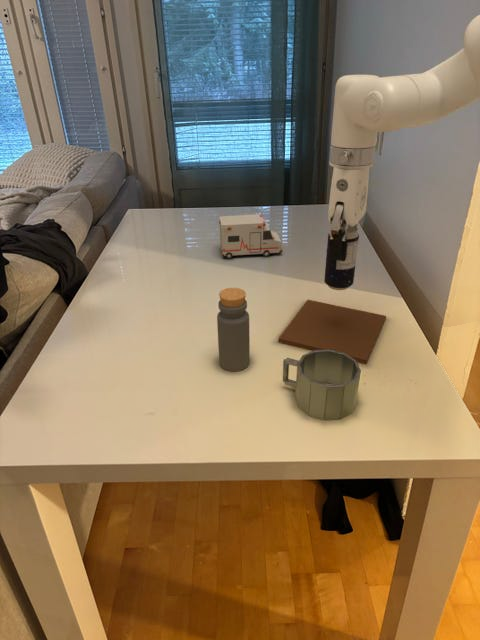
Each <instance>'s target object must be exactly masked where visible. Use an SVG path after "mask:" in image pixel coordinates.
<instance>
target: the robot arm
mask: <svg viewBox="0 0 480 640" xmlns="http://www.w3.org/2000/svg"><path fill="white" fill-rule="evenodd" d="M463 34H464V35H463V44H462V45H463V47H462V48H461V49H460V50H459V51H457V52H456V53H455V54H453V55H452V56H450V57H449V58H446V59H445V60H444V61H442V62H441V63H439V64H436V65H435V66H433V67H432V68H430V69H428V70H427V71H423V72H422V73H412V74H411V73H410V74H401V75H392V76H382V77H380V76H378V75H375V74H347V75H346V74H345V75H342V76H341V77H339V78H338V80H337V81H336V83H335V86H334V87H335V88H334V99H333V109H332V110H333V112H332V123H331V135H330V136H331V137H330V146H329V147H330V150H329V159H328V160H329V162H328V164H329V166H330V167H331V168H333V170H332V176H331V184H330V189H329V190H330V191H329V200H328V212H327V217H328V218H327V220H328V222H329V224H330V230H331V235H330V246H329V259H333V260H339V261H345V260H346V255H347V245H348V240H346V238H347V233H348V228H349V225H351V227H353V226H356V227H357V228H358V223H359V222H360V221H361V220H362V219H363V217H364V216H365V214H366V213H367V206H368V195H369V180H370V168H373V167H374V164H375V163H374V162H375V156H376V155H375V154H376V146H377V138H378V133H389V132H394V131H399V130H404V129H405V130H406V129H410V128H416V127H421V126H426V125H429V124H431V123H433V122H436V121H438V120H440V119H443V118H444V117H446V116H449V115H450V114H453V113H455V112H456V111H459V110H461V109H463V108H465V107H467V106H468V105H471V104H472V103H475V102H476V101H477V100H479V99H480V14H478V15H476V16H475V17H474V18H473V19H472V20H471V21H470V22H469V23H468V24H467V26H466V29H465V31H464V33H463ZM340 226H341V227H344V231H342V230H341V229H340Z"/></svg>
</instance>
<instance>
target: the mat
mask: <svg viewBox="0 0 480 640" xmlns="http://www.w3.org/2000/svg"><path fill="white" fill-rule="evenodd" d="M386 320H387V315H384V314H379V313H375V312H370V311H364V310H360V309H355V308H350V307H347V306H341V305H335V304H331V303H326V302H321V301H318V300H317V301H316V300H311V299H307V300H306V301H305V302H304V304H303V305H302V306H301V308H300V309H299V310H298V312H296V314H295V316H294V317H293V318H292V320H291V321H290V322H289V324H288V325H287V326H286V328H285V329H284V330H283V331H282V333H281V334H280V335H279V336H278V343H281V344H283V345H284V344H285V345H289V346H291V347H296V348H299V349H300V348H301V349H305V350H308V351H313V350H325V349H329V350H330V349H331V350H335V351H339V352H343V353H346V354H347V355H349V356H350V357H352V358H353V359H355V360H356V361H357V363H359V364H360V363H361V364H364V365H367V363H368V361H369V359H370V357H371V354H372V353H373V350H374V348H375V345H376V344H377V340H378V338H379V336H380V334H381V332H382V329H383V327H384V325H385V322H386Z"/></svg>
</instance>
